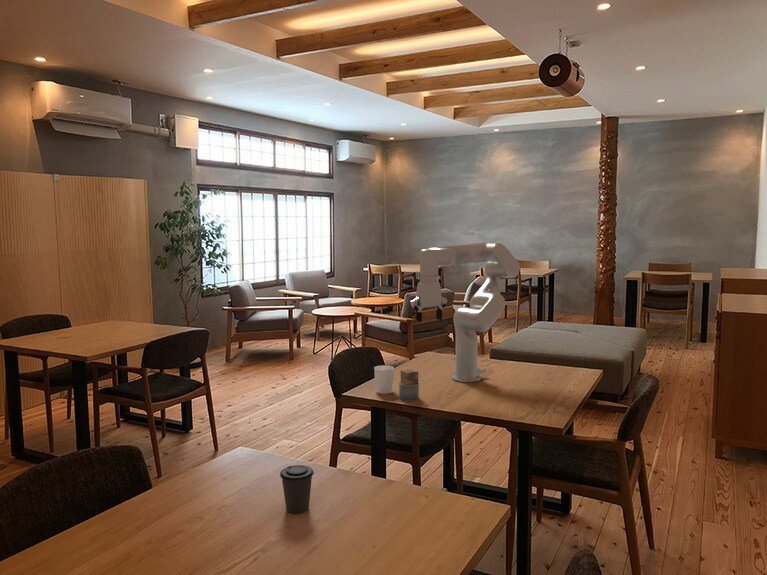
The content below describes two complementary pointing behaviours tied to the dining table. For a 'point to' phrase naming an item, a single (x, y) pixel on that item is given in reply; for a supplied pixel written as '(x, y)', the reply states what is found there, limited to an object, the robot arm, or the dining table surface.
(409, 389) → the stoneware pot
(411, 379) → the walnut cube
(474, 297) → the robot arm
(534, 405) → the dining table surface
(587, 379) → the dining table surface
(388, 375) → the white cup
